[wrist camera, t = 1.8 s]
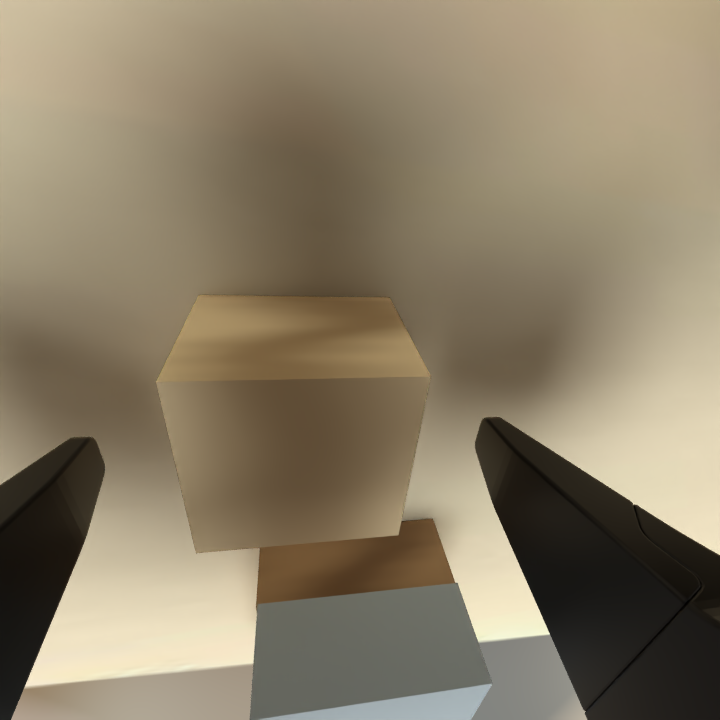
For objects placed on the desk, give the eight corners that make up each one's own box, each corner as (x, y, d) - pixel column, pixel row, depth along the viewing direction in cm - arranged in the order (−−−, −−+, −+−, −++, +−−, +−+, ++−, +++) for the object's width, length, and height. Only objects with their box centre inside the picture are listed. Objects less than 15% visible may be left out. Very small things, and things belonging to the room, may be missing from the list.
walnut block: (430, 512, 17) (455, 583, 14) (408, 600, 21) (425, 669, 18) (261, 527, 16) (256, 606, 13) (270, 617, 19) (267, 692, 17)
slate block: (457, 582, 14) (492, 683, 12) (425, 668, 18) (446, 759, 15) (257, 604, 13) (249, 720, 11) (266, 691, 17) (262, 793, 14)
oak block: (388, 295, 11) (430, 376, 8) (371, 431, 14) (398, 535, 10) (199, 292, 10) (156, 381, 7) (220, 437, 13) (195, 553, 10)
